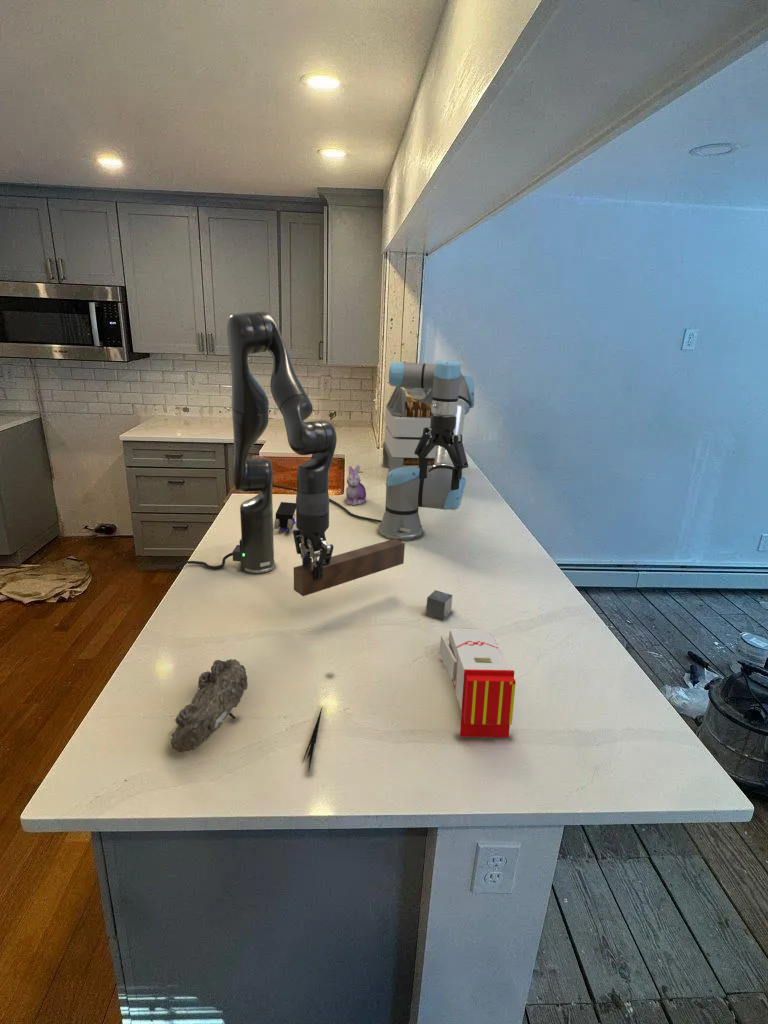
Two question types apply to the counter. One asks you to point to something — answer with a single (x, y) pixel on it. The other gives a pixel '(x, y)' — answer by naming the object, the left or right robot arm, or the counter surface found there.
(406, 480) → the right robot arm
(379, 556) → the walnut bar
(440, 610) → the slate cube
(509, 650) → the counter surface
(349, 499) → the figurine
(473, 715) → the toy
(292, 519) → the figurine character
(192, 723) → the fossil
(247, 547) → the left robot arm
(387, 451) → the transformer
